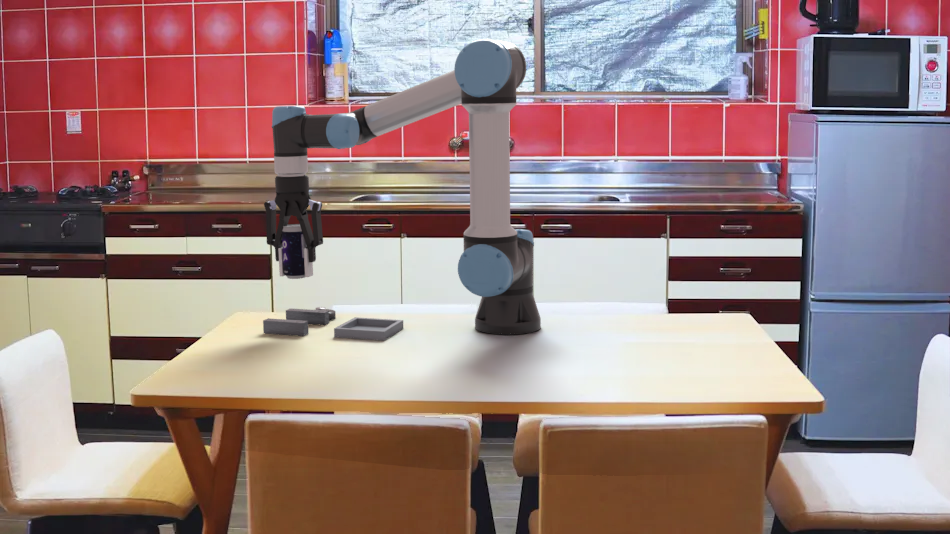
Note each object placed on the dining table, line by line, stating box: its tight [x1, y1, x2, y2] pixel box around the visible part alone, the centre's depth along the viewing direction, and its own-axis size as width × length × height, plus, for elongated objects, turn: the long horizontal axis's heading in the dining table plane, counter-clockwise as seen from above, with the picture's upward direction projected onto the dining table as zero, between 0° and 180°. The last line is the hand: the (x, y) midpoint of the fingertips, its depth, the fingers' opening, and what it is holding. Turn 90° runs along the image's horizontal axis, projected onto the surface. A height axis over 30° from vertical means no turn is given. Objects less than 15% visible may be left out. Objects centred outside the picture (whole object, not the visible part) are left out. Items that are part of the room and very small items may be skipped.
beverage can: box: [282, 223, 307, 280], centre depth 252 cm, size 6×6×12 cm
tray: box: [333, 316, 404, 341], centre depth 249 cm, size 12×12×2 cm
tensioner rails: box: [262, 306, 337, 337], centre depth 258 cm, size 10×21×3 cm, turn 163°
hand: (296, 275), depth 253 cm, fingers closed on beverage can, 6 cm apart
